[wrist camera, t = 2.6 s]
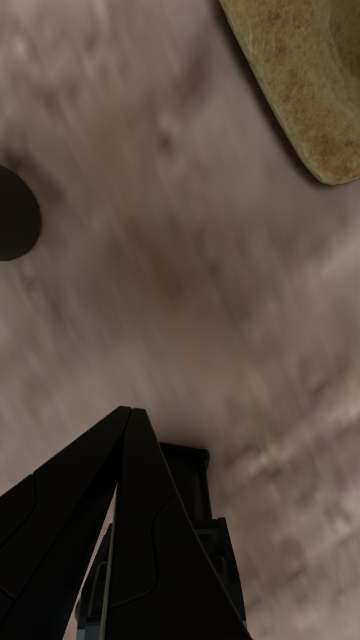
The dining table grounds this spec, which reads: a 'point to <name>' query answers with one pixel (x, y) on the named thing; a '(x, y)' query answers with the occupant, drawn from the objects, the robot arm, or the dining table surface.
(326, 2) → the olive green boot
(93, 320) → the dining table surface
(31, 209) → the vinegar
